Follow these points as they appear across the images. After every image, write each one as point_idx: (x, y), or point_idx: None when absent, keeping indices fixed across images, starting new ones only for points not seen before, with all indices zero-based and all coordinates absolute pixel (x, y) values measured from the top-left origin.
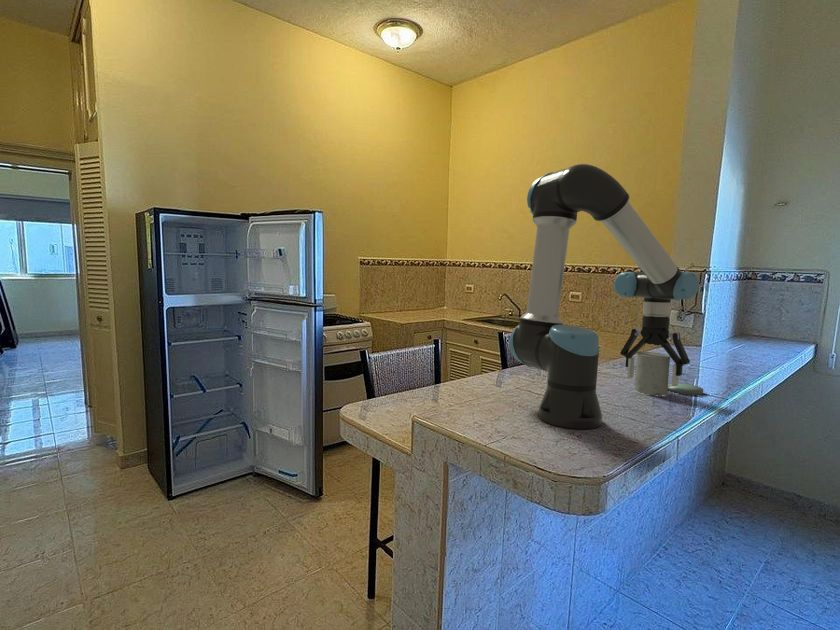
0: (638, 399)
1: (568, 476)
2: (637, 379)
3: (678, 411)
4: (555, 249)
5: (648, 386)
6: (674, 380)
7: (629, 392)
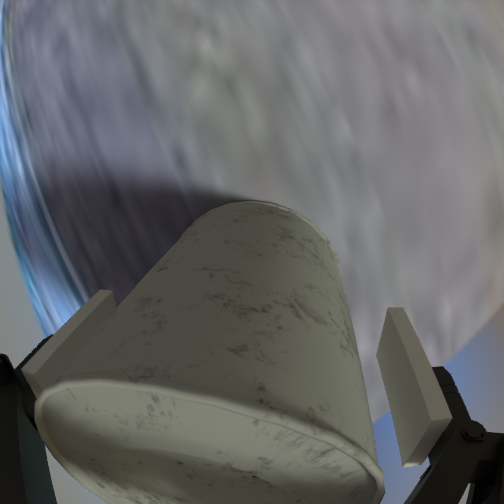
0: (219, 56)
1: None
2: (310, 252)
3: (35, 50)
4: None
5: (219, 221)
6: (81, 308)
7: (335, 179)
